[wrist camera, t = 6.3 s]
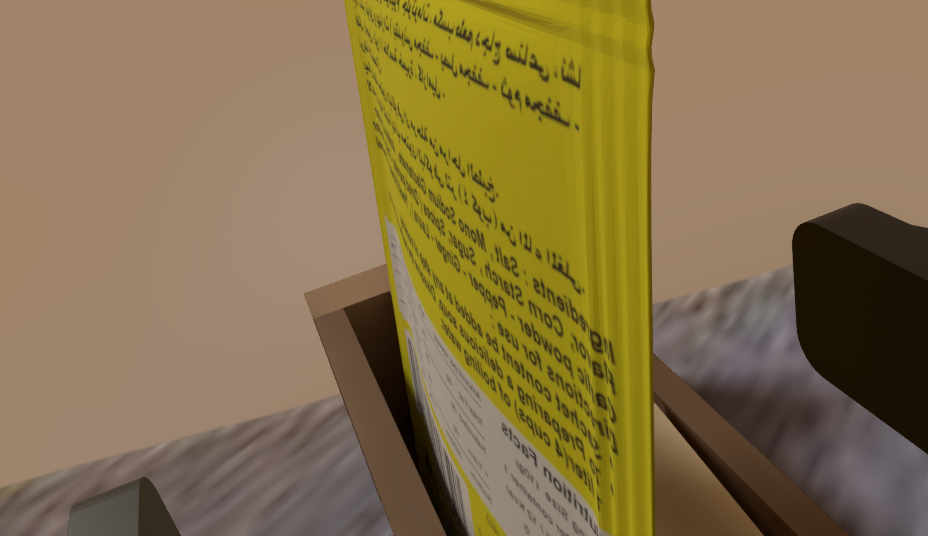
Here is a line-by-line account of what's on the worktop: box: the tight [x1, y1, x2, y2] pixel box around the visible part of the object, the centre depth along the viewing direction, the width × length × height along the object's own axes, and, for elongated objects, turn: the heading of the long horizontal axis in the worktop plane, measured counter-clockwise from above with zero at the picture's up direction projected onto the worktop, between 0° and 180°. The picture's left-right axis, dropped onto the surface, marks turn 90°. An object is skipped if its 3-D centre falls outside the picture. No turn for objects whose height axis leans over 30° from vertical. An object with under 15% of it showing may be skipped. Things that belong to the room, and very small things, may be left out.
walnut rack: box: [304, 264, 850, 536], centre depth 23 cm, size 10×21×8 cm, turn 19°
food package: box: [344, 0, 656, 536], centre depth 18 cm, size 15×1×20 cm, turn 18°
